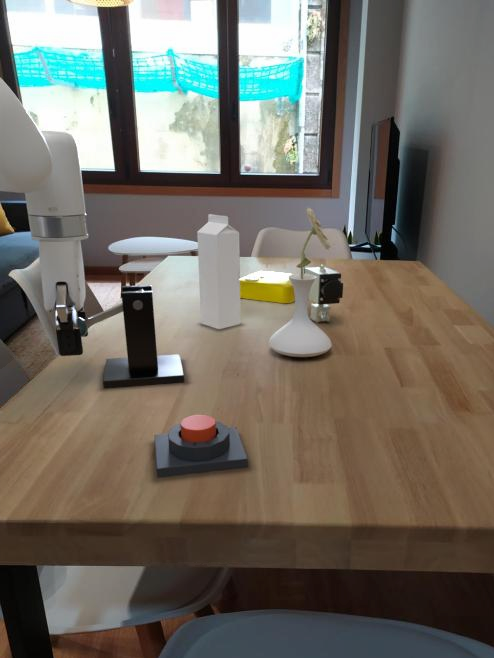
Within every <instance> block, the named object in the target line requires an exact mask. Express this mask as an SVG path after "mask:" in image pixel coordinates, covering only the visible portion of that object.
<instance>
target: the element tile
mask: <svg viewBox="0 0 494 658" xmlns="http://www.w3.org/2000/svg"><path fill="white" fill-rule="evenodd" d="M291 274H292V273H285V272H276V271H265V270H264V271H263V270H259V271H257V272H254V273H251V274H248V275H247V276H244V277H240V299H245V300H251V301H252V300H254V301H261V302H268V303H269V302H270V303H278V304H291V303H295V293H294V288H293V285H292V283H291V281H290V280H289V278H288V276H289V275H291Z"/></svg>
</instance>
